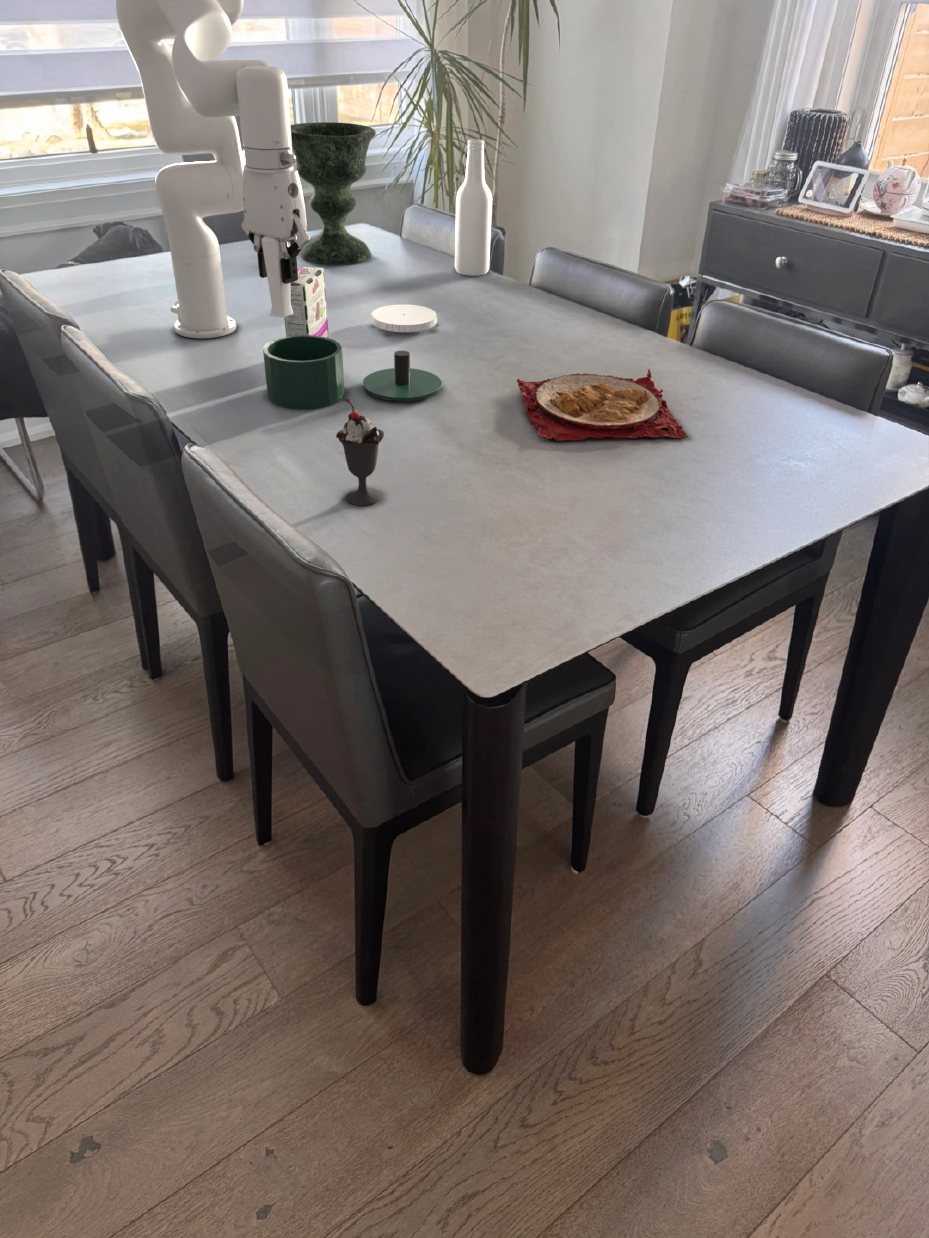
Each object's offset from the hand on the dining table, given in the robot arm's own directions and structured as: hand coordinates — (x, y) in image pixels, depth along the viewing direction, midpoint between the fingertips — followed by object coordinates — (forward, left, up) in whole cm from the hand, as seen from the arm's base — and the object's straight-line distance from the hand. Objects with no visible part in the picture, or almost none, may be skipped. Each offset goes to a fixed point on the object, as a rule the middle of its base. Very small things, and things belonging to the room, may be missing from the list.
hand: (278, 277), depth 153 cm
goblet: (-55, +76, -21) cm, 96 cm away
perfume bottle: (0, 0, -6) cm, 6 cm away
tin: (+2, +2, -21) cm, 21 cm away
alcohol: (-19, +88, -21) cm, 92 cm away
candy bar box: (-9, +15, -21) cm, 27 cm away
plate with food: (+48, +28, -21) cm, 60 cm away
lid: (+14, +15, -20) cm, 29 cm away
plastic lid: (-7, +43, -21) cm, 49 cm away
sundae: (+35, -22, -21) cm, 46 cm away
